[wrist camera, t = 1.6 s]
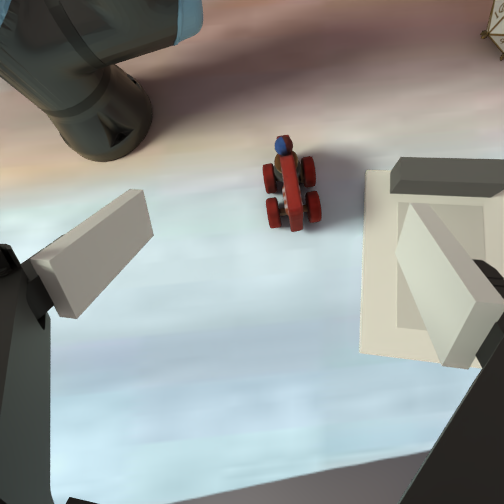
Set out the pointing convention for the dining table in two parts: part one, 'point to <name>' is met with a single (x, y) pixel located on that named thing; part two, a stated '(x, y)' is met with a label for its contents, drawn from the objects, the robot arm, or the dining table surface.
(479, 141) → the dining table surface
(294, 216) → the red toy car
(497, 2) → the geodesic ball
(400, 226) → the mat
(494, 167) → the grey rectangular block
